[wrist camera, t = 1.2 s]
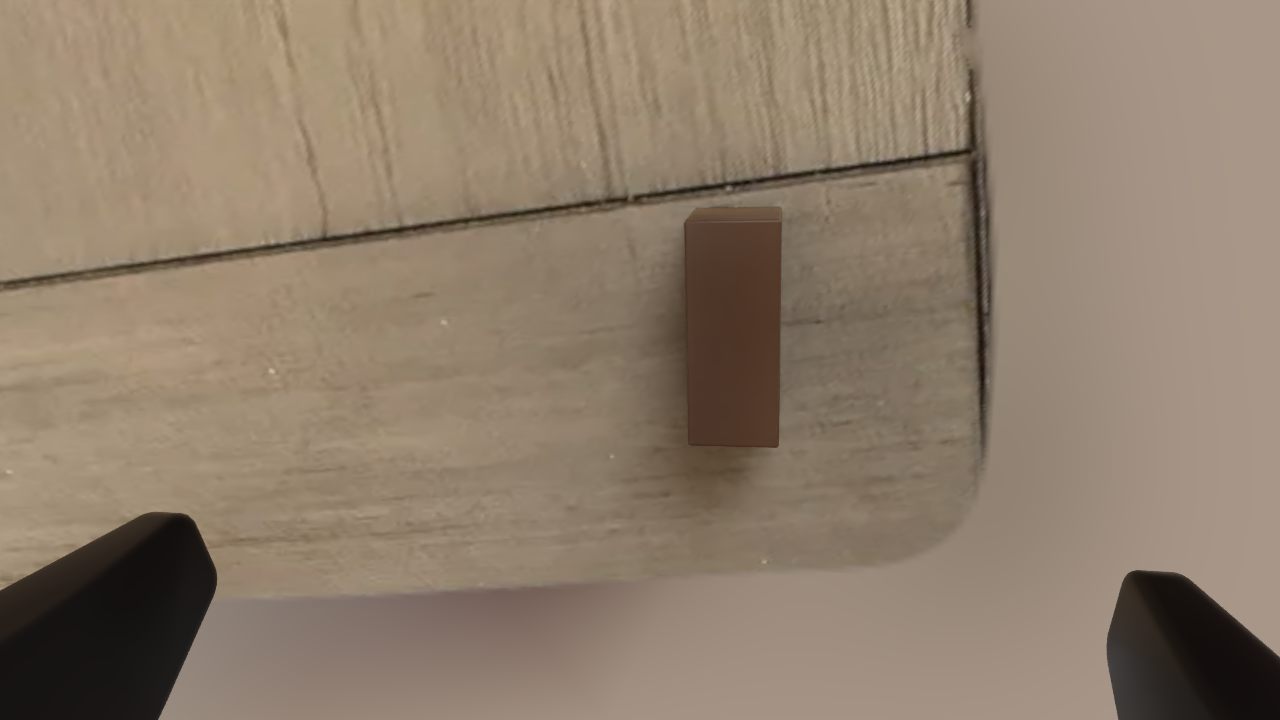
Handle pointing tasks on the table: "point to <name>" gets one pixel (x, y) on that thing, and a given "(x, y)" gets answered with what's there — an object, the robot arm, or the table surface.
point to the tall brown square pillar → (733, 325)
